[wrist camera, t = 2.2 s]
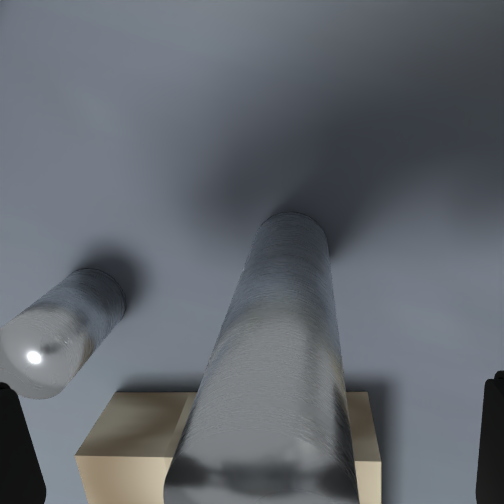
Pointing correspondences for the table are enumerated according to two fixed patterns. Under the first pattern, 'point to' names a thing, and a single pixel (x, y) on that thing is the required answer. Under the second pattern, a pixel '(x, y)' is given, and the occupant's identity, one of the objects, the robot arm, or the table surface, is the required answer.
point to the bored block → (166, 441)
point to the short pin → (59, 333)
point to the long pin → (272, 386)
